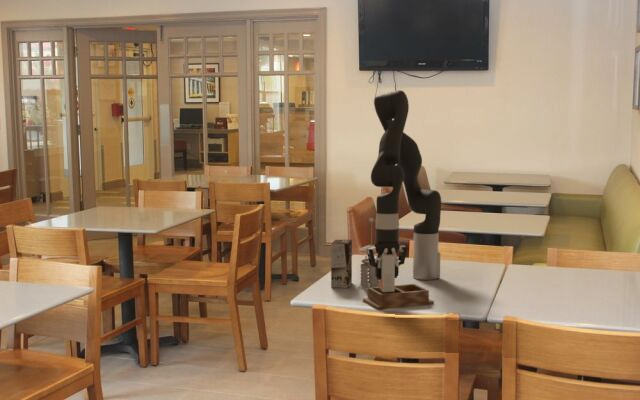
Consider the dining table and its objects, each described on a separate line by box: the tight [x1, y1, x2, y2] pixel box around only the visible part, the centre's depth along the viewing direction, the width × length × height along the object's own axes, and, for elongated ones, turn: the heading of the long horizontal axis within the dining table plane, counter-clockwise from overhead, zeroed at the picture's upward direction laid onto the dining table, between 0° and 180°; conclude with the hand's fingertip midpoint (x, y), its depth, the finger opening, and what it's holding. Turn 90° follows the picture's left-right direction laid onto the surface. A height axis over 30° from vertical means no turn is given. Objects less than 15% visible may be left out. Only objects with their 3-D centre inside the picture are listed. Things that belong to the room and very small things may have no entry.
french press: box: [357, 217, 379, 292], centre depth 270 cm, size 10×12×25 cm
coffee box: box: [330, 239, 353, 289], centre depth 275 cm, size 9×6×16 cm
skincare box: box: [379, 254, 396, 292], centre depth 248 cm, size 6×4×12 cm
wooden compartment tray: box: [362, 283, 435, 311], centre depth 251 cm, size 20×12×4 cm, turn 110°
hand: (386, 278), depth 249 cm, fingers closed on skincare box, 5 cm apart
